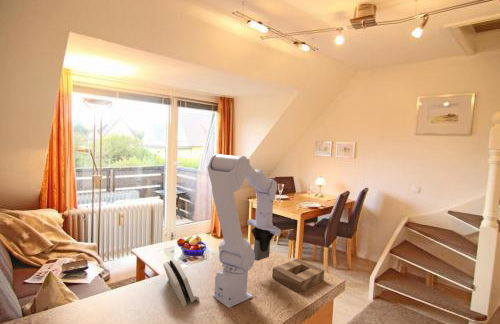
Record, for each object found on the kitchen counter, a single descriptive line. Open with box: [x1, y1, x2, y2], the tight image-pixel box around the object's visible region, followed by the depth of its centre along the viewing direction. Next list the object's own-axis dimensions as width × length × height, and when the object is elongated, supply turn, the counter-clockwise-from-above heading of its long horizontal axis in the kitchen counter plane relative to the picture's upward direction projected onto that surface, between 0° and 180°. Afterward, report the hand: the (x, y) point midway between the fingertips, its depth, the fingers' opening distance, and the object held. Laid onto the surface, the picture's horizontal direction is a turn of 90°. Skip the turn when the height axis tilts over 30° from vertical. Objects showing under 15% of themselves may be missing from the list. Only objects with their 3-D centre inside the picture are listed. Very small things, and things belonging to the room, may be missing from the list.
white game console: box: [163, 258, 200, 307], centre depth 85 cm, size 17×5×10 cm, turn 30°
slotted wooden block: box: [271, 258, 325, 293], centre depth 98 cm, size 14×12×4 cm
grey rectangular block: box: [253, 238, 271, 262], centre depth 98 cm, size 6×2×7 cm, turn 133°
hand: (261, 249), depth 98 cm, fingers closed on grey rectangular block, 2 cm apart
